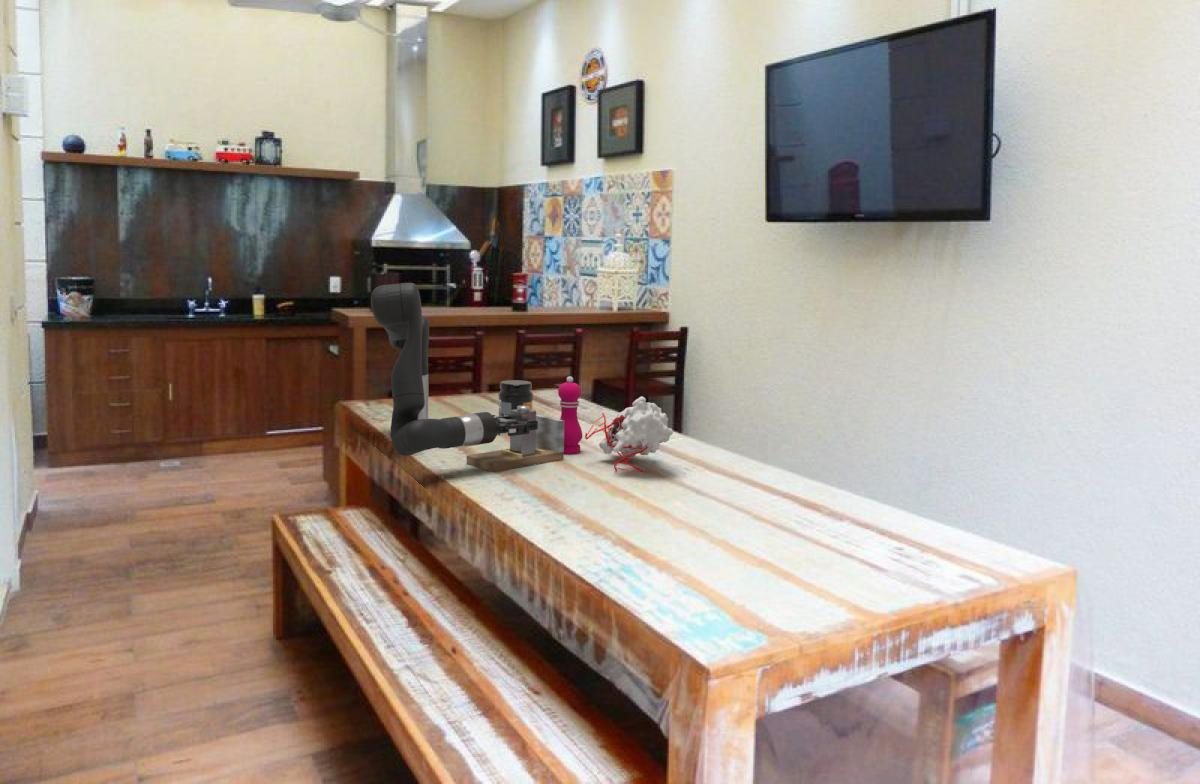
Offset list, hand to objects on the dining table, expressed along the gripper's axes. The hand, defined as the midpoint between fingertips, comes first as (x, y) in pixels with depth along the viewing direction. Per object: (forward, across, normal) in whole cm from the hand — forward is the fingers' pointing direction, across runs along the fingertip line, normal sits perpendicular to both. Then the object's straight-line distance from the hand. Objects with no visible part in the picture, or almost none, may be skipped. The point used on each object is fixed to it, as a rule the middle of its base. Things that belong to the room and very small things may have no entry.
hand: (525, 422), depth 232 cm
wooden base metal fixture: (-2, +2, +10) cm, 10 cm away
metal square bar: (-1, 0, +8) cm, 8 cm away
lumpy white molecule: (+17, -20, +10) cm, 28 cm away
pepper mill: (+16, +2, +10) cm, 19 cm away
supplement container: (+32, +44, +10) cm, 56 cm away
